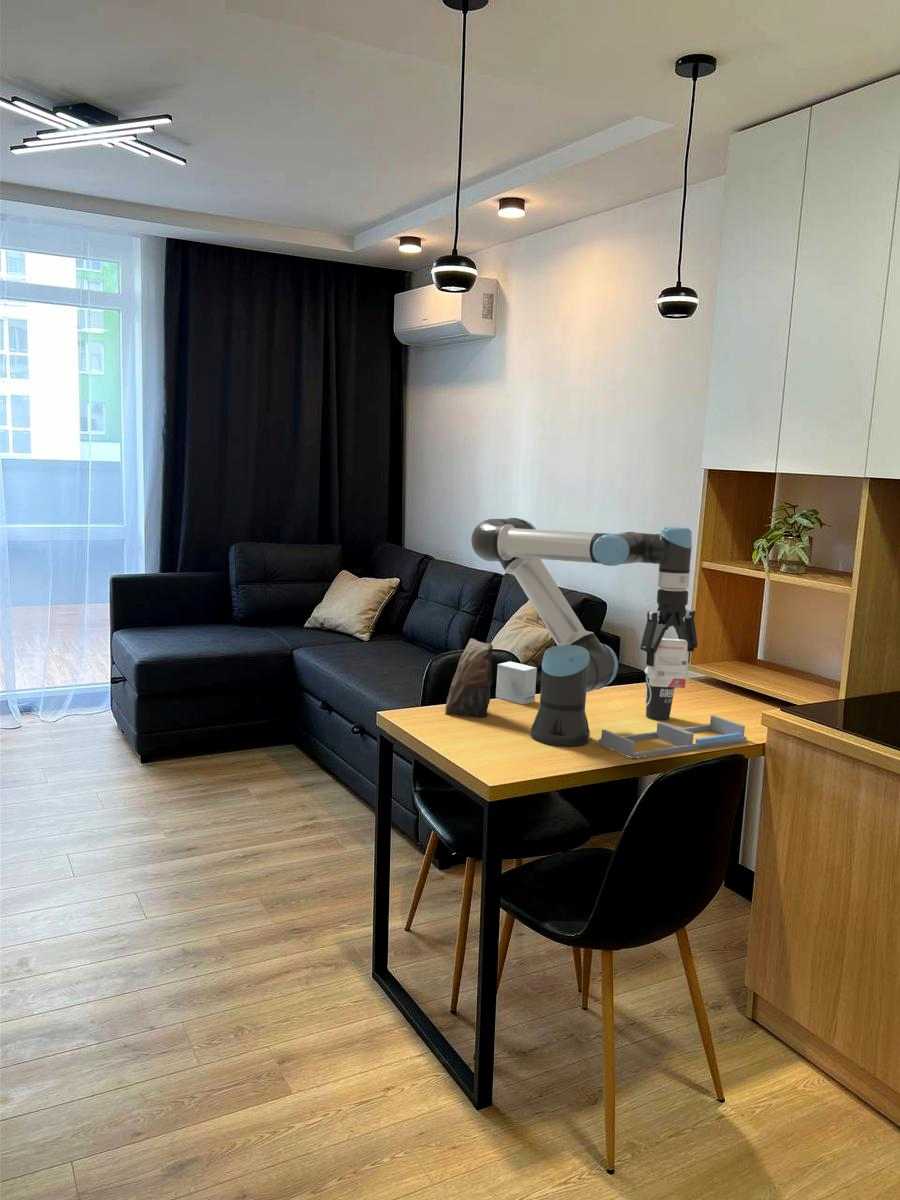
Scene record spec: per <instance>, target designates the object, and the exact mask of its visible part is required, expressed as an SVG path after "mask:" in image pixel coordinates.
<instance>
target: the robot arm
mask: <svg viewBox="0 0 900 1200" xmlns="http://www.w3.org/2000/svg"><path fill="white" fill-rule="evenodd" d="M692 536H693V534H692V530H691V529H690V528H688V527H681V526H664V527H662V528H661V531H660V533H656V534H655V533H644V532H634V531H626V532H625V531H623V532H619V533H605V532H604V533H603V532H602V533H601V532H588V531H587V532H586V531H585V532H584V531H567V530H553V529H552V530H550V529H537V528H536V526H534V525H533V524H532V523H531V522H530V521H527V520H526V519H522V518H518V517H509V518H489V519H485V520H483V521H481V522H480V523H478V524H477V525H476V526H475V528H474V529H473V531H472V533H471V538H470V539H471V540H470V542H471V547H472V550H473V551H474V553H475V554H476V555H477V556H478V557H479V558H480V559H481V560H484V561H487V562H499V563H500V566H502V568H503V570H504V571H505V573H506V574H509V575H513V576H514V577H515V579H516V580H517V582H518V584H519V586H520V587H521V588H522V590H523V592H524V594H525V595H526V597H527V598H528V600H529V602H530V604H531V605H532V606H533V609H534V610H535V611H536V613H537V615H538V616H539V618H540V619H541V621H542V623H543V624H544V626H545V627H546V629H547V631H548V632H549V634H550V636H551V638H552V639H553V640H554V643H555V644H556V645H553V646H551V647H548V648H547V649H546V650H545V651H544V653H543V658H542V661H541V678H540V679H541V680H540V692H539V693H540V694H539V695H540V696H539V707H538V710H537V713H536V715H535V718H534V720H533V723H532V724H531V728H530V737H531V738H532V739H533V740H535V741H537V742H540V743H542V744H543V743H544V744H548V745H553V746H562V747H577V746H582V745H586V744H587V743H589V742H590V738H591V737H590V736H591V730H590V728H589V722H588V717H587V714H586V703H587V701H586V700H587V693H589V692H593V691H595V690H600V689H603V688H604V687H606V686H607V685H609V684H610V683H612V682H613V681H614V680H615V678H616V676H617V673H618V668H619V661H618V660H619V659H618V657H617V654H616V653H615V651H614V650H613V649H612V647H610V646H609V645H607V644H604V643H601V642H600V640H599V639H598V637H597V636H596V634H595V633H594V632H593V631H589V630H586V629H585V628H584V626H583V624H582V623H581V621H580V619H579V617H578V616H577V614H576V613H575V612H574V610H573V609H572V607H571V604H570V603H569V602H568V600H567V599H566V597H565V596H564V594H563V592H562V591H561V589H560V588H559V585H558V584H557V583H556V581H555V579H554V578H553V577H552V574H551V573H550V572H549V570H548V568H547V567H546V565H545V564H544V562H543V560H549V561H550V560H551V561H560V562H561V561H563V562H564V561H565V562H577V563H578V562H579V563H589V564H590V563H592V564H599V565H600V564H601V565H603V566H606V567H607V566H609V567H612V566H613V567H617V566H619V565H627V564H637V563H638V564H639V563H640V564H641V563H642V564H653V565H654V564H655V565H658V578H657V579H658V580H657V587H658V590H657V593H656V594H657V595H656V603H657V605H658V606H657V610H655V611H651V610H648V611H647V612H646V613H647V614H646V616H647V617H646V624H645V627H644V632H643V635H642V640H641V644H640V650H641V651H644V652H646V662H645V664H646V666H648V672H647V678H650V679H653V680H657V666H658V654H657V653H656V650H657V648H658V646H659V644H660V642H661V640H662V638H663V637H664V635H665V633H666V631H667V630H669V628H670V627H673V628H674V630H675V632H676V634H677V639H683V640H686V641H687V642H688V646H687V663H686V678H688V670H689V668H688V667H689V664H690V661H691V659H690V658H691V652H694V651H695V649H697V648H698V639H697V637H698V636H697V630H696V623H695V616H696V611H695V610H693V609H688V608H687V607H686V606H687V605H689V603H688V602H689V591H688V590H687V589H689V588H690V587H689V586H690V585H689V584H690V573H691V568H690V567H691V558H692V548H693V544H692V543H693V542H692V541H693V539H692V538H693V537H692ZM686 608H687V609H686Z"/></svg>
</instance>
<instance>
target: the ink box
mask: <svg viewBox="0 0 900 1200" xmlns="http://www.w3.org/2000/svg"><path fill="white" fill-rule="evenodd" d="M687 646H688V642H687V641H686V640H683V639H679V638H665V637H664V638H662V640H661V642H660V644H659V646H658V648H657V650H656V653H657V654H658V666H657V680H653V679H650V685H651V686H656V687H674V688H676V689H685V688H686V678H687V677H686V663H687Z"/></svg>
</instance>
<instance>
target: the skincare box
mask: <svg viewBox="0 0 900 1200" xmlns="http://www.w3.org/2000/svg"><path fill="white" fill-rule="evenodd" d="M537 672H538V667H536V666H535V667H534V666H530V665H527V664H523V663H519V662H515V661H512V660H509V661H506V662H501V663H497V671H496V674H497V675H496V688H495V698H496V699H497V698H498V699H502V700H505V701H508V702H512V703H515V704H518V705H519V704H520V705H526V704H531V703H534V701H536V689H537V687H536V685H537V674H538V673H537Z"/></svg>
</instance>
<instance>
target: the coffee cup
mask: <svg viewBox="0 0 900 1200" xmlns="http://www.w3.org/2000/svg"><path fill="white" fill-rule="evenodd" d="M647 672H648V665H646V668H645V670H644V673H645V717H646V718H647V719H649V720H653V721H659V722H661V721H662V722H663V721H664V722H665V721H668V720H669V719H670V715H671V710H672V706H673V705H672V704H673V701H674V695H675V690H676V689H675V688H674V687H656V686H651V685H650V678H647Z"/></svg>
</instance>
